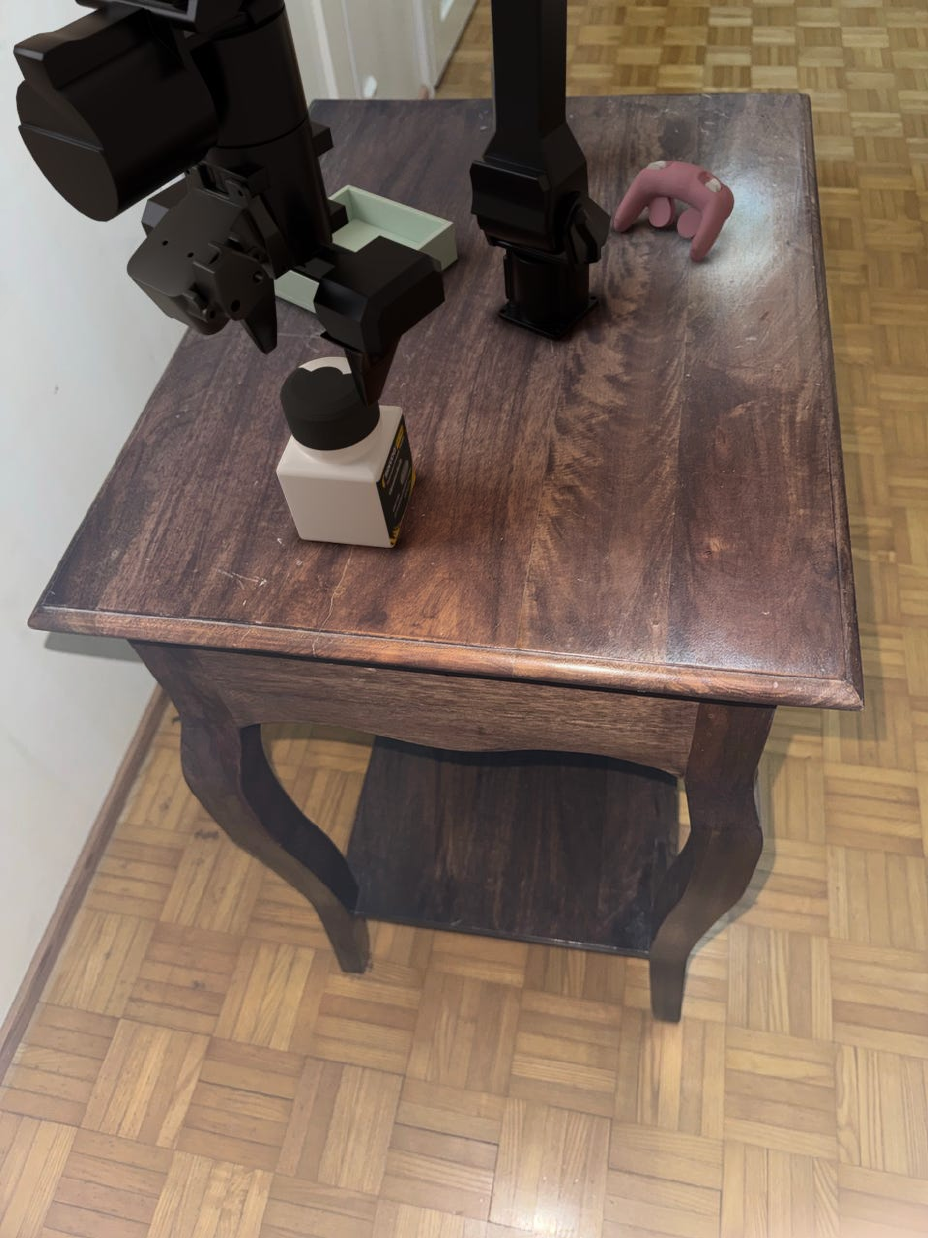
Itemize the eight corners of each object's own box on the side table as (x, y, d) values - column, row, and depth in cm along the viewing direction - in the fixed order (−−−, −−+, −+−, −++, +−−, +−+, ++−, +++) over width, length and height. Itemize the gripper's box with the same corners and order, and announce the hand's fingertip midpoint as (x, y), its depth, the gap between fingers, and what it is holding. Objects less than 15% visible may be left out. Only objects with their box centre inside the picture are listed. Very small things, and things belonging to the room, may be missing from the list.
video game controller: (719, 263, 82) (750, 181, 79) (696, 265, 79) (726, 179, 75) (631, 229, 87) (656, 149, 83) (605, 229, 84) (630, 146, 80)
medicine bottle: (394, 550, 64) (363, 421, 54) (299, 541, 65) (252, 414, 56) (417, 478, 68) (392, 345, 58) (327, 470, 69) (288, 340, 60)
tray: (457, 258, 84) (453, 222, 81) (362, 334, 79) (354, 299, 76) (355, 219, 90) (347, 183, 87) (259, 287, 84) (248, 252, 82)
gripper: (7, 144, 45) (128, 392, 58) (258, 256, 37) (335, 516, 50) (178, 55, 50) (255, 302, 62) (434, 138, 42) (464, 403, 54)
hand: (319, 375), depth 57 cm, fingers open, 9 cm apart
